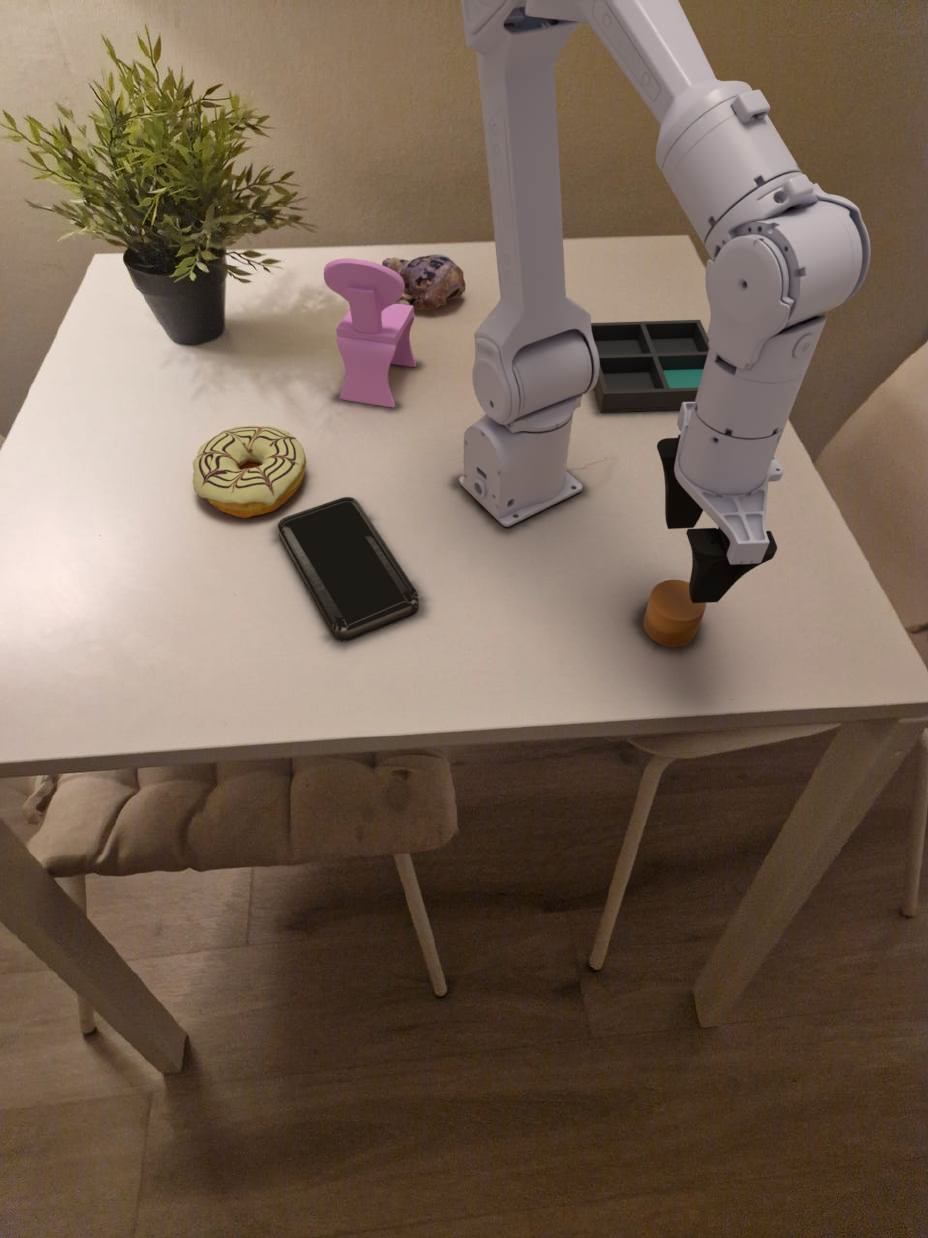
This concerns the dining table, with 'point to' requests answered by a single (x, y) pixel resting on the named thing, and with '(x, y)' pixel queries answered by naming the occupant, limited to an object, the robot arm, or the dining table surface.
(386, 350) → the toy chair
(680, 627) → the orange cylinder
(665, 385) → the grid
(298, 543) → the phone
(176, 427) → the dining table surface
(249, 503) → the decorated donut
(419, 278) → the toy tortoise
